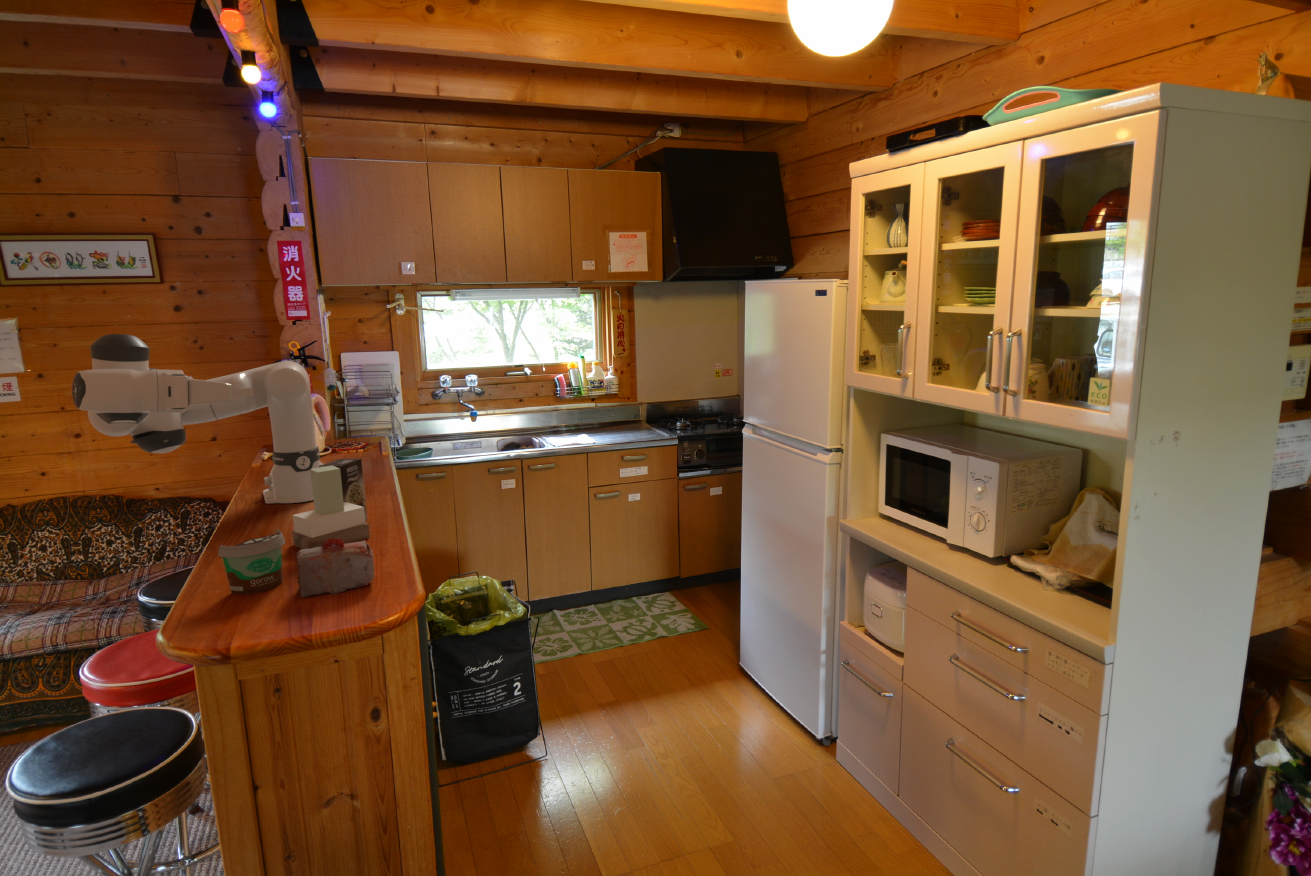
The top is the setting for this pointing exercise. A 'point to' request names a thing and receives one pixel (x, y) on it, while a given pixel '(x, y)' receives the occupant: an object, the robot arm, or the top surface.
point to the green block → (327, 490)
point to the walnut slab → (345, 534)
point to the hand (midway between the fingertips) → (248, 392)
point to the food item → (334, 567)
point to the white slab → (328, 521)
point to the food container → (254, 564)
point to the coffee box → (351, 481)
